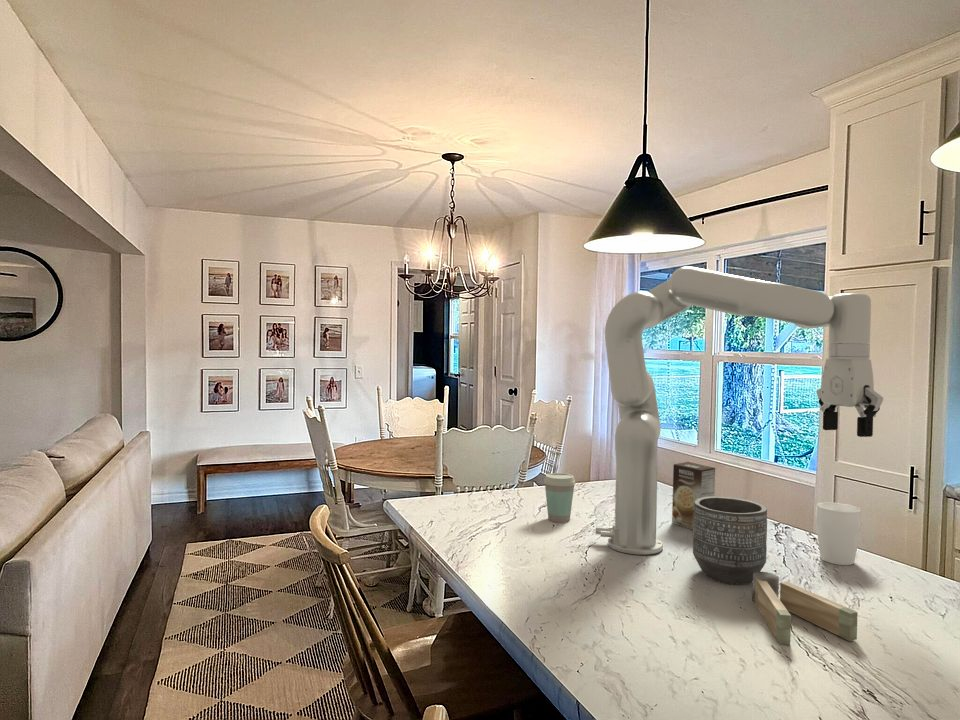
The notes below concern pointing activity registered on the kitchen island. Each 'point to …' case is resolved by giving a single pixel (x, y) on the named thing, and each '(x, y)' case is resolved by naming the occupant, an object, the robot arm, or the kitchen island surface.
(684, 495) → the coffee box
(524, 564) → the kitchen island surface
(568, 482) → the coffee cup
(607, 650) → the kitchen island surface
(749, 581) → the planter
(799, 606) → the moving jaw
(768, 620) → the tongs base
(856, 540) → the cup
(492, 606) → the kitchen island surface
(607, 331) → the robot arm
